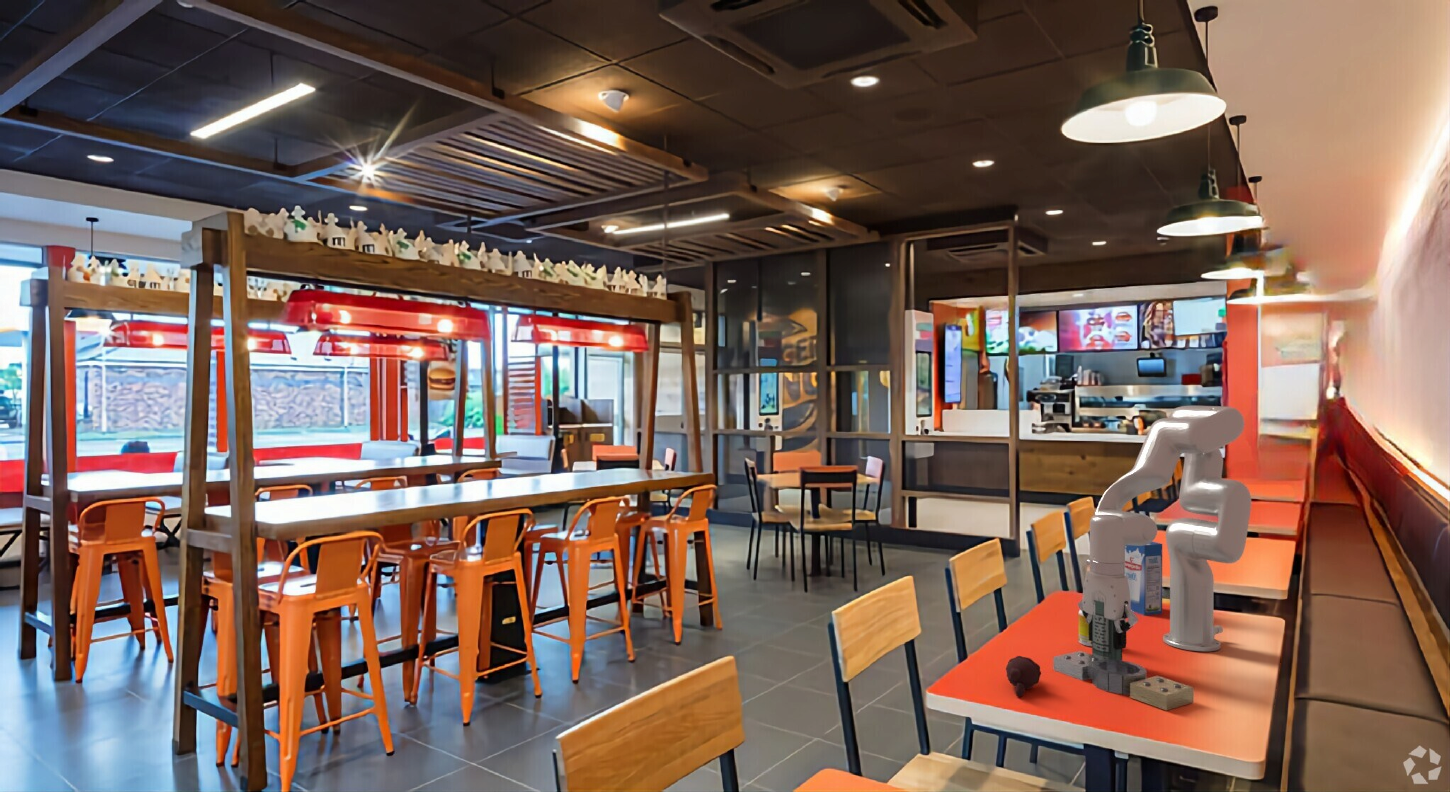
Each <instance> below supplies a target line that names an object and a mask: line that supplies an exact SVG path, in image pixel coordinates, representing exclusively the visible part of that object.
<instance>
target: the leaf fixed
mask: <svg viewBox="0 0 1450 792" xmlns="http://www.w3.org/2000/svg"><path fill="white" fill-rule="evenodd" d="M1052 660H1053V661H1052V662H1053V663H1052V665H1053V671H1055V672H1058V673H1060V674H1063V675H1066V676H1069V677H1071V678H1074V679H1076V680H1079V681H1087V680H1092V681H1091V682H1092V684H1093V686H1095V688H1097V689H1099V690H1102V691H1105V692H1108V693H1112V694H1118V695H1123V696H1125V695H1129V696H1130V683H1132V682H1136V681H1140V680H1143V679H1147V678H1148V677H1147V675H1148V674H1147V671H1148V670H1147V669H1146V668H1145V667H1143V666H1142V665H1140V664H1137V663H1135V662H1132V661H1127V660H1122V661H1121V660H1107V659H1103V658H1100V657H1097V656H1094V655H1092V654H1090V653H1088V652H1085V651H1082V650H1079V651H1074V652H1070V653H1065V654H1060V655H1054V656H1053V657H1052Z"/></svg>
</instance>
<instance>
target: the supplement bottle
mask: <svg viewBox="0 0 1450 792" xmlns="http://www.w3.org/2000/svg"><path fill="white" fill-rule="evenodd" d="M1078 642H1079V643H1080V644H1081V645H1083V646H1086V647H1092V641H1089V624H1088V623H1087V622H1086V618H1085V617H1084V615H1083V613H1082V611H1081V610H1080V609H1079V611H1078Z"/></svg>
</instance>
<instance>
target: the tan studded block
mask: <svg viewBox="0 0 1450 792" xmlns="http://www.w3.org/2000/svg"><path fill="white" fill-rule="evenodd" d="M1194 690H1195V689H1194V687H1193V686H1190V685H1187V684H1184V683H1181V682H1178V681H1174V680H1172V679H1169V678H1166V677H1163V676H1159V675H1155V676H1151V677H1147V679H1143V680H1140V681H1136V682H1132V683H1130V695H1129V698H1131V699H1134V700H1136V701H1140V702H1142V703H1145V704H1148V705H1151V706H1153V707H1154V708H1158V709H1162V710H1164V711H1169V710H1172V709H1176V708H1178V707H1183V706H1185V705H1188V704H1192V703H1194V702H1195V701H1194V700H1195V699H1194V697H1195V696H1194V695H1195V694H1194V692H1195V691H1194Z"/></svg>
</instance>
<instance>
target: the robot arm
mask: <svg viewBox="0 0 1450 792" xmlns="http://www.w3.org/2000/svg"><path fill="white" fill-rule="evenodd" d="M1148 429H1149V430H1148V432H1147V434H1146V436H1145V439H1144V441H1143V444H1142V447H1141V449H1140V451H1139V453H1138V455H1137V458H1136V460H1135V463H1134V466H1133V467H1132V468H1131V470H1129V471H1128V472H1127V473H1126V474H1124V475H1122V476H1121V477H1119V478H1118V479H1117V480H1116V481H1114V483H1112V484H1111V485H1110V486H1109V487H1108V488H1106V490H1105V491H1104V493H1103V494H1102V497H1101V498H1100V499H1099V502H1098V505H1097V507H1096V509H1095V512H1094V515H1092V516H1091V517H1090V520H1089V558H1088V559H1086V564H1087V565H1088V566H1089V570H1087V571H1086V573H1085V577H1084V582H1083V590H1082V599H1081V600H1080V601H1079V602H1078V603H1077V606H1078V609H1079V611H1080V610H1081V611H1082V613H1083V615H1084V617H1085V618H1086V622H1087V623H1088V624H1089V641H1092V615H1093V612H1094V615H1095V602H1094V600H1096V601H1100V602H1104V618H1106V619H1108V620H1113V621H1114V624H1115V627H1116V630H1117V632H1115V633H1114V648H1115V649H1117V650H1119V649H1122V650H1123V649H1126V648H1127V632H1129V631H1130V629H1132V628H1133V627H1134V625H1136V624H1137V623H1138V622H1139V618H1138V616H1137V615H1136V614H1135V613H1136V612H1133V611H1132V609H1131V601H1130V590H1129V584H1128V579H1127V576H1125V546H1126V545H1135V546H1143V545H1147V544H1149V543H1151V542H1154V540H1155V539H1156V538H1157V535H1158V526H1157V523H1156V521H1155V520H1153V518H1152V517H1150V516H1149V515H1146V514H1143V513H1138V512H1131V511H1126V510H1123V509H1124V507H1125V506H1126V505H1127V504H1128V502H1130V501H1131V500H1132V499H1134V498H1136V497H1138V496H1140V495H1143V494H1146V493H1149V492H1152V491H1155V490H1158V489H1161V488H1164V487H1166V486H1168V485H1169V484H1170V482H1171V479H1172V477H1173V475H1174V474H1175V473H1174V472H1175V470H1176V467H1177V465H1178V462H1179V460H1180V457H1181V456H1182V454H1184V462H1183V470H1182V475H1181V481H1180V486H1179V487H1180V489H1179V494H1178V495H1179V499H1178V501H1179V506H1180V507H1181V509H1183V510H1184V511H1186V512H1189V513H1192V514H1197V515H1202V516H1203V515H1204V516H1209V517H1218V520H1217V521H1218V522H1217V521H1209V520H1204V519H1199V518H1193V517H1192V518H1190V517H1181V518H1176V519H1174V520H1172V521H1171V522H1170V523H1169V524H1168V525H1167V527H1166V530H1165V542H1166V546H1167V547H1166V548H1167V552H1168V558H1169V570H1170V571H1169V572H1170V574H1169V578H1170V581H1169V595H1170V596H1169V604H1170V605H1169V632H1167V633H1165V634H1163V636H1162V639H1163V642H1164V643H1165V644H1167V645H1168V646H1171V647H1174V648H1177V649H1182V650H1187V651H1193V652H1215V651H1218V650H1220V649H1221V643H1222V642H1220V641H1219V640H1217V638H1215V636H1216V635H1218V634H1221V633H1223V631H1224V629H1223V626H1221V625H1219V624H1218V625H1214V585H1215V583H1214V581H1215V580H1214V574H1213V570H1212V568H1211V565H1210V564H1209V562H1208V561H1212V562H1215V563H1222V564H1234V563H1237V562H1239V560H1240V559H1241V558H1242V556H1243V554H1244V551H1245V548H1246V542H1247V536H1248V529H1249V524H1250V518H1251V510H1252V496H1251V492H1250V490H1249V488H1248V487H1247V485H1245V483H1243V482H1241V481H1239V480H1236V479H1229V478H1222V475H1223V468H1224V467H1223V466H1224V458H1223V454H1222V451H1221V450H1220V449H1221V448H1222V447H1224V446H1226V445H1229V444H1231V443H1233V442H1235V441H1236V440H1238V439H1239V437H1240V436H1241V435H1242V434H1243V431H1244V429H1245V419H1244V415H1242V413H1241V411H1239V409H1237V408H1235V407H1232V406H1224V405H1223V406H1218V405H1215V406H1214V405H1181V406H1178V407H1175V408H1173V409H1172V410H1171V412H1170V414H1169V417H1164V418H1160V419H1159V418H1158V419H1156V420H1155V421H1154V422H1153V423H1152V424H1151V425H1150V428H1148ZM1127 619H1128V620H1127ZM1120 621H1121V624H1122V625H1121V624H1120Z"/></svg>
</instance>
